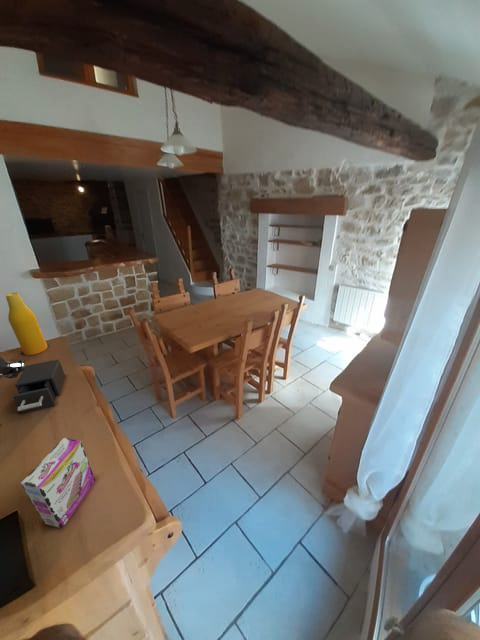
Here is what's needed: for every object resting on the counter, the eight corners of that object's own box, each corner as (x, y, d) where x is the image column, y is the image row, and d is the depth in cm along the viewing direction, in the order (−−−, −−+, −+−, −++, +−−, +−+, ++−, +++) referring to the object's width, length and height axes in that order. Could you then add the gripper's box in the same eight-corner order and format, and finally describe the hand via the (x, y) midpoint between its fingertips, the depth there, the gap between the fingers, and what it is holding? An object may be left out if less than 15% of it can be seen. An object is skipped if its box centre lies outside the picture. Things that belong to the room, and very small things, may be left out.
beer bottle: (36, 358, 114) (10, 299, 101) (19, 355, 116) (-9, 297, 102) (53, 347, 122) (31, 291, 109) (36, 345, 124) (13, 289, 110)
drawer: (52, 415, 84) (44, 398, 81) (17, 424, 81) (7, 406, 78) (60, 387, 96) (54, 371, 93) (31, 393, 93) (23, 377, 90)
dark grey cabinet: (60, 397, 93) (52, 377, 88) (25, 406, 89) (14, 385, 85) (66, 378, 102) (58, 359, 98) (34, 385, 98) (25, 365, 94)
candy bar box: (64, 531, 57) (39, 489, 49) (45, 526, 57) (17, 484, 50) (98, 481, 66) (81, 439, 59) (81, 477, 67) (62, 436, 60)
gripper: (9, 343, 63) (39, 357, 79) (-62, 355, 58) (-15, 367, 74) (10, 373, 61) (41, 381, 77) (-63, 387, 56) (-14, 393, 72)
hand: (13, 374), depth 75 cm, fingers closed
